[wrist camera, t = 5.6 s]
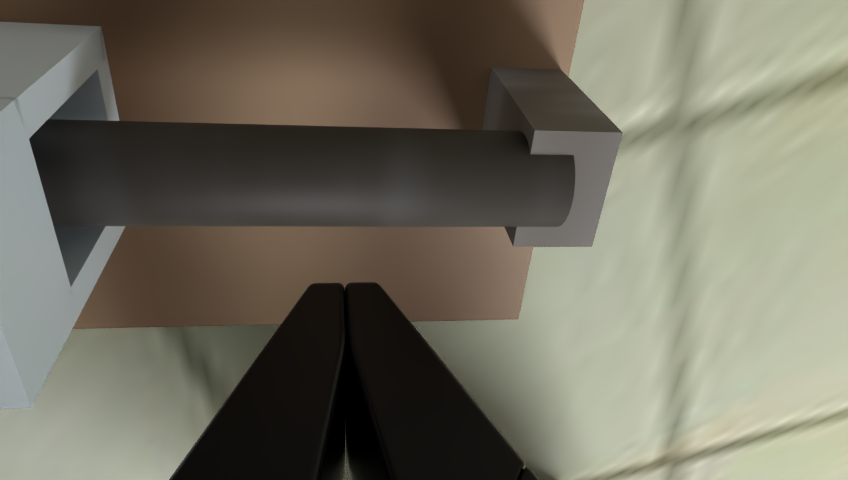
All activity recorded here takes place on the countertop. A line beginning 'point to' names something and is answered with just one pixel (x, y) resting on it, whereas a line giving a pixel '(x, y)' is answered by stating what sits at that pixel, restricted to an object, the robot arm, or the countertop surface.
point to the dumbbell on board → (325, 154)
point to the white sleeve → (44, 199)
